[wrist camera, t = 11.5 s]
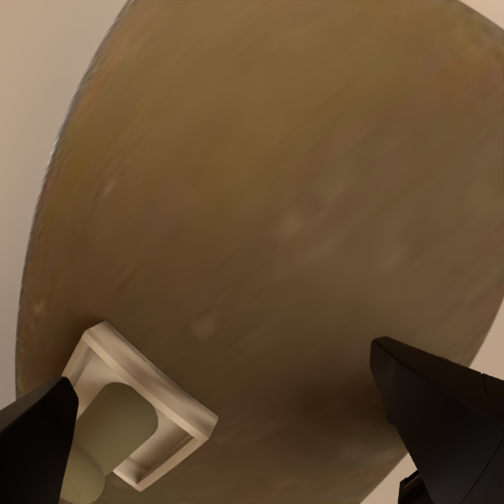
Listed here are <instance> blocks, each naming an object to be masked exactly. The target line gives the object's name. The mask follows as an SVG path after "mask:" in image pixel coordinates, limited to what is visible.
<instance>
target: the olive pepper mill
mask: <svg viewBox="0 0 504 504" xmlns="http://www.w3.org/2000/svg"><path fill="white" fill-rule="evenodd" d="M157 428H158V416H157V414H156V411H155V409H154V407H153V406H152V404H151V403H150V402H149V401H148V400H146V399H145V398H144V397H143V396H142V395H141V394H139V393H138V392H137V391H136V390H135V389H134V388H133V387H131V386H130V385H127V384H124V383H119V382H112V383H109V384H106V385H105V386H104V387H103V388H102V389H101V391H100V392H99V393H98V394H97V396H96V397H95V398H94V399H93V401H92V402H91V403H90V404H89V405H88V407H87V408H86V409H85V410H84V412H83V413H82V414H81V415H80V417H79V418H78V419H77V420H76V424H75V430H74V437H73V442H72V447H71V451H70V455H69V459H68V463H67V467H66V471H65V475H64V480H63V484H62V489H61V494H60V497H61V498H63V499H65V500H66V501H69V502H71V503H74V504H89V503H91V502H93V501H95V500H96V499H98V498H99V496H100V495H101V494H102V491H103V488H104V485H105V477H106V476H107V475H108V474H109V473H110V472H112V471H113V470H114V469H115V468H116V467H117V466H119V465H120V464H121V463H122V462H123V461H124V460H125V459H127V458H128V457H129V456H130V455H131V454H132V453H133V452H134V451H136V450H137V449H138V448H139V447H140V446H141V445H142V444H143V443H144V442H146V441H147V440H148V439H149V438H150V437H151V436H152V435H153V434H154V433H155V432H156V430H157Z"/></svg>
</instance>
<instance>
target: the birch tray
mask: <svg viewBox="0 0 504 504" xmlns="http://www.w3.org/2000/svg"><path fill="white" fill-rule="evenodd" d="M61 376H66V377H67V378H68V379H69V380H70V382H71V384H72V386H73V388H74V390H75V392H76V394H77V396H78V398H79V407H78V413H77V418H76V420H77V419H78V418H79V417H80V415H81V414H82V413H83V412H84V410H85V409H86V408H87V407H88V405H89V404H90V403H91V402H92V401H93V399H94V398H95V397H96V396H97V394H98V393H99V392H100V391H101V389H102V388H103V387H104V386H105V385H106V384H109V383H112V382H119V383H124V384H127V385H130V386H131V387H133V388H134V389H135V390H136V391H137V392H138V393H139V394H141V395H142V396H143V397H144V398H145V399H146V400H148V401H149V402H150V403H151V404H152V406H153V407H154V409H155V411H156V414H157V416H158V428H157V430H156V432H155V433H154V434H153V435H152V436H151V437H150V438H149V439H148V440H147V441H146V442H144V443H143V444H142V445H141V446H140V447H139V448H138V449H137V450H136V451H134V452H133V453H132V454H131V455H130V456H129V457H128V458H127V459H125V460H124V461H123V462H122V463H121V464H120V465H119V466H117V467H116V468H115V469H114V470H113V472H114V473H116V474H117V475H118V476H119V477H121V478H122V479H123V480H125V481H126V482H127V483H129V484H130V485H131V486H133V487H134V488H135V489H137V490H138V491H140V492H141V491H143V490H144V489H145V488H147V487H148V486H149V485H151V484H152V483H154V482H155V481H156V480H158V479H159V478H160V477H162V476H163V475H164V474H166V473H167V472H168V471H169V470H171V469H172V468H173V467H175V466H176V465H177V464H178V463H180V462H181V461H182V460H184V459H185V458H186V457H187V456H189V455H190V454H191V453H192V452H193V451H195V450H196V449H197V448H198V447H200V446H201V445H202V444H203V443H204V442H206V441H207V440H208V439H209V438H210V436H211V433H212V431H213V429H214V427H215V425H216V423H217V421H218V418H219V417H218V416H217V415H216V414H214V413H213V412H212V411H210V410H209V409H208V408H206V407H205V406H204V405H203V404H201V403H200V402H199V401H197V400H196V399H195V398H194V397H192V396H191V395H190V394H188V393H187V392H186V391H185V390H184V389H182V388H181V387H180V386H179V385H177V384H176V383H175V382H174V381H173V380H171V379H170V378H169V377H168V376H167V375H165V374H164V373H163V372H162V371H161V370H160V369H158V368H157V367H156V366H155V365H154V364H153V363H152V362H150V361H149V360H148V359H147V358H146V357H145V356H144V355H143V354H142V353H140V352H139V351H138V350H137V349H136V348H135V347H134V346H133V345H132V344H131V343H130V342H129V341H127V340H126V339H125V338H124V337H123V336H122V335H121V334H120V333H119V332H118V331H117V330H116V329H115V328H114V327H113V326H112V325H111V324H110V323H109V322H108V321H107V320H105V321H103V322H101V323H99V324H97V325H95V326H93V327H92V328H90V329H88V330H86V331H85V332H84V334H83V335H82V337H81V339H80V341H79V343H78V345H77V347H76V348H75V350H74V352H73V354H72V356H71V358H70V360H69V362H68V364H67V366H66V368H65V369H64V371H63V373H62V375H61Z"/></svg>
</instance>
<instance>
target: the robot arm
mask: <svg viewBox="0 0 504 504" xmlns="http://www.w3.org/2000/svg"><path fill="white" fill-rule="evenodd" d="M370 368H371V371H372V374H373V377H374V379H375V382H376V384H377V387H378V389H379V392H380V394H381V397H382V400H383V402H384V405H385V407H386V410H387V412H388V420H389V422H390V423H392V424H393V425H395V427H396V429H397V431H398V433H399V435H400V437H401V439H402V441H403V442H404V444H405V446H406V448H407V450H408V452H409V454H410V456H411V458H412V460H413V462H414V463H415V466H416V468H417V470H416V471H415V472H414V473H413V474H412V475H410V476H409V477H408V478H407V477H406V478H405V479H403V480H402V481H401V482H400V487H399V497H398V504H504V380H501V379H498V378H495V377H492V376H489V375H487V374H484V373H482V374H481V372H478V371H476V370H473V369H470V368H468V367H465V366H462V365H459V364H457V363H454V362H451V361H449V360H448V359H444V358H441V357H438V356H436V355H433V354H430V353H428V352H425V351H423V350H420V349H417V348H415V347H412V346H410V345H407V344H404V343H402V342H399V341H397V340H394V339H392V338H389V337H386V336H383V337H379V338H376V339H373V340H372V342H371V353H370ZM78 407H79V398H78V396H77V394H76V392H75V390H74V388H73V386H72V384H71V382H70V380H69V379H68V378H67V377H66V376H56V377H54V378H52V379H50V380H49V381H47V382H45V383H44V384H42V385H41V386H39V387H37V388H36V389H34V390H33V391H31V392H29V393H28V394H26V395H25V396H23V397H21V398H20V399H18V400H16V401H15V402H13V403H12V404H10V405H8V406H7V407H5V408H4V409H2V410H0V504H58V503H59V498H60V494H61V489H62V484H63V480H64V475H65V471H66V467H67V463H68V459H69V455H70V451H71V447H72V442H73V437H74V430H75V424H76V418H77V413H78Z"/></svg>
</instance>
